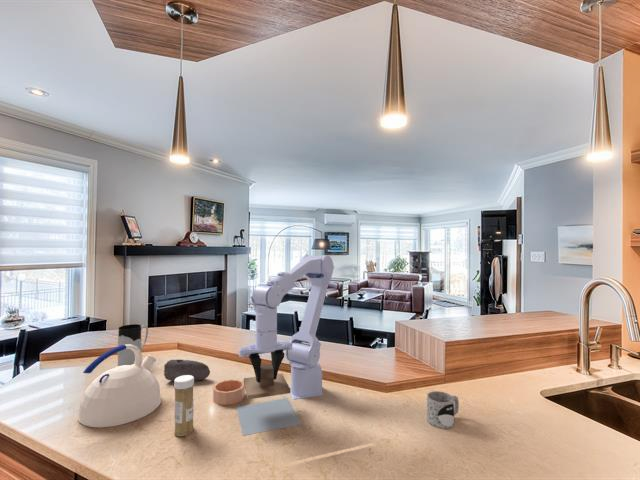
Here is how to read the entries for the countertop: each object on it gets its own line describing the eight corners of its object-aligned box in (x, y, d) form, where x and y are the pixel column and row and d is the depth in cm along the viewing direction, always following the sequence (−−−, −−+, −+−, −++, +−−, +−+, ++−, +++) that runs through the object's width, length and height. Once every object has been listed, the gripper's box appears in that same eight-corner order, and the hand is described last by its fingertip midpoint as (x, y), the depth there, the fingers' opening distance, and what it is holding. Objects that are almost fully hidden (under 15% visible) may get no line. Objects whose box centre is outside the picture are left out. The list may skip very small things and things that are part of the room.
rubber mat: (287, 399, 99) (287, 398, 99) (302, 425, 85) (302, 423, 85) (236, 408, 94) (236, 406, 94) (242, 437, 79) (242, 435, 79)
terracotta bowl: (242, 390, 105) (242, 377, 105) (246, 403, 96) (246, 389, 96) (212, 394, 102) (212, 382, 102) (213, 408, 93) (213, 394, 93)
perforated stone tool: (212, 377, 115) (212, 357, 115) (207, 383, 110) (207, 363, 110) (169, 377, 115) (169, 357, 115) (162, 383, 110) (162, 362, 110)
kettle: (177, 399, 99) (177, 339, 99) (108, 436, 80) (108, 362, 80) (132, 387, 107) (133, 332, 108) (60, 417, 89) (61, 350, 89)
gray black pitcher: (110, 369, 122) (110, 329, 122) (137, 356, 136) (138, 320, 136) (131, 371, 121) (131, 330, 121) (156, 357, 135) (157, 321, 135)
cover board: (281, 376, 96) (281, 358, 97) (290, 393, 86) (290, 372, 86) (243, 381, 93) (243, 362, 93) (247, 399, 83) (247, 377, 83)
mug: (441, 431, 82) (441, 405, 82) (421, 419, 88) (421, 394, 88) (468, 422, 87) (468, 396, 87) (448, 410, 93) (448, 386, 93)
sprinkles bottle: (195, 433, 81) (195, 379, 81) (175, 439, 79) (176, 383, 79) (191, 425, 85) (191, 372, 85) (172, 430, 82) (172, 376, 83)
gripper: (286, 323, 96) (286, 369, 96) (236, 329, 90) (236, 378, 90) (295, 329, 90) (295, 378, 90) (242, 335, 84) (242, 389, 84)
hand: (266, 379), depth 90 cm, fingers closed on cover board, 4 cm apart
